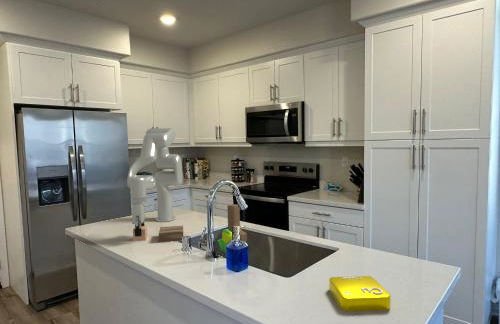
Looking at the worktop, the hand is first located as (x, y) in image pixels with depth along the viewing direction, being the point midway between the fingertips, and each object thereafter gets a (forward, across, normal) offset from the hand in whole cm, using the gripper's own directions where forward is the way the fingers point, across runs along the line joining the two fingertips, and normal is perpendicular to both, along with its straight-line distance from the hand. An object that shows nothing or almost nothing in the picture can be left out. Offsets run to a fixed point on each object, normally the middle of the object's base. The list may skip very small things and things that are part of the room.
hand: (139, 233), depth 165 cm
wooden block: (+3, +15, +49) cm, 51 cm away
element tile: (+4, +80, +79) cm, 112 cm away
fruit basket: (+4, +30, +44) cm, 53 cm away
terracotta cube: (+3, 0, 0) cm, 3 cm away
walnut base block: (+3, +2, +16) cm, 17 cm away
